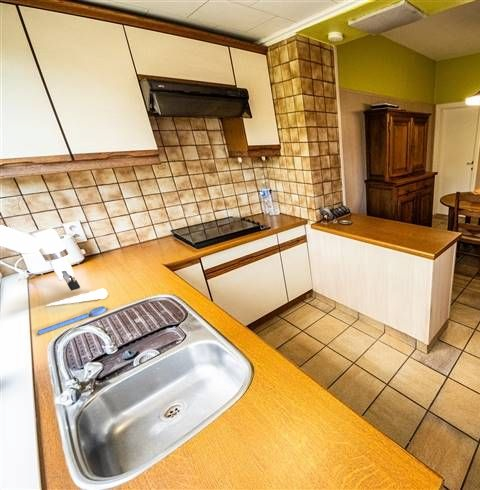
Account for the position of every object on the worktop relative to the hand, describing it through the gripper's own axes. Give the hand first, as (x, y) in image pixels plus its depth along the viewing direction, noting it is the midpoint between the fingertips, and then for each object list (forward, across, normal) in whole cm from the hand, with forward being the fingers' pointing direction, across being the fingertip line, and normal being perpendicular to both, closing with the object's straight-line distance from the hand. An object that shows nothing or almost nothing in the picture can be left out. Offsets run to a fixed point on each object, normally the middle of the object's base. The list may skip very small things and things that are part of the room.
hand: (75, 288), depth 129 cm
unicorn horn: (+3, +12, 0) cm, 12 cm away
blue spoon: (+2, +31, -1) cm, 31 cm away
